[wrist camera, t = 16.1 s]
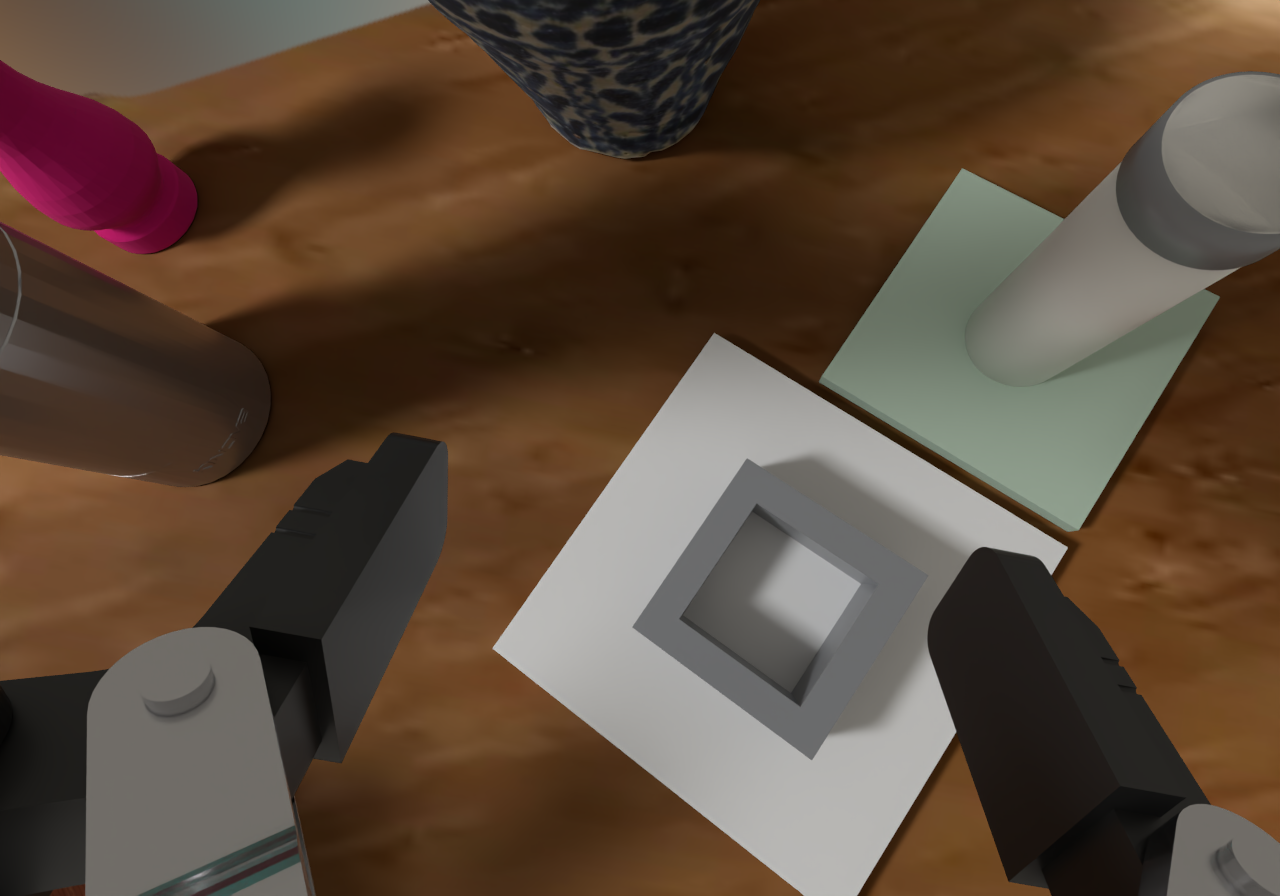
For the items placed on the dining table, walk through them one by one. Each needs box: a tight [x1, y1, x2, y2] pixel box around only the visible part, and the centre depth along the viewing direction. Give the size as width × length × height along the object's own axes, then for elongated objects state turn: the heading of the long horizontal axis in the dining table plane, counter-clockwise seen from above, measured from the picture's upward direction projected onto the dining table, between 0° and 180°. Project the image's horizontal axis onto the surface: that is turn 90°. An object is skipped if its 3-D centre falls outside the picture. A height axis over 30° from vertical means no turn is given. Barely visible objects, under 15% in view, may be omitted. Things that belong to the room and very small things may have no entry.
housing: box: [493, 333, 1068, 896], centre depth 31 cm, size 20×20×4 cm
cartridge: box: [965, 72, 1280, 387], centre depth 26 cm, size 5×5×15 cm
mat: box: [819, 168, 1220, 532], centre depth 34 cm, size 14×14×1 cm
